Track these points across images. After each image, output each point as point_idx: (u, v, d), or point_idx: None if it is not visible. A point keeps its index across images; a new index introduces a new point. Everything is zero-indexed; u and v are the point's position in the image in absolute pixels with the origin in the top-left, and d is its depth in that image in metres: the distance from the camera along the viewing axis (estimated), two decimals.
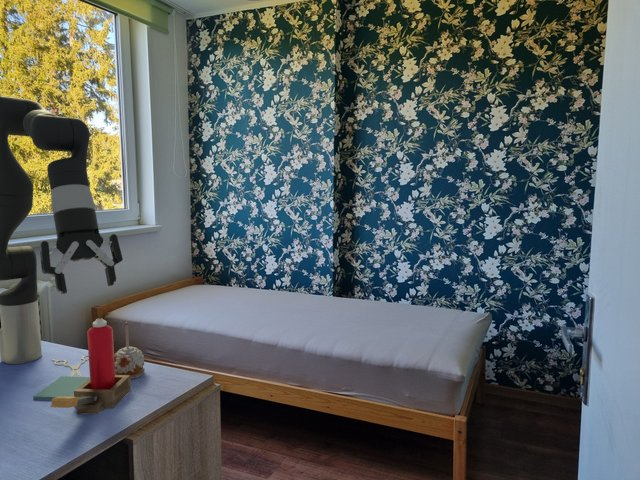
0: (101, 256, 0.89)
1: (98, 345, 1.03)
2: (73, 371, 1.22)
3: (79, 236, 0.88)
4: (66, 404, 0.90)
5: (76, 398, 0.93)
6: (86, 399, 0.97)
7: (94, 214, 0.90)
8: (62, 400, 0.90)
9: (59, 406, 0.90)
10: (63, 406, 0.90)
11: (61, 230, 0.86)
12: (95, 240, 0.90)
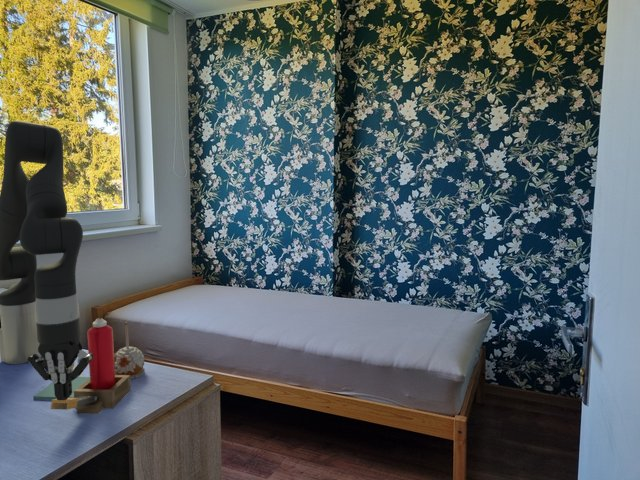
0: (59, 371, 0.89)
1: (98, 345, 1.03)
2: None
3: (55, 345, 0.89)
4: (66, 405, 0.90)
5: (76, 399, 0.93)
6: (86, 400, 0.97)
7: (67, 328, 0.87)
8: (62, 402, 0.90)
9: (59, 408, 0.90)
10: (63, 408, 0.90)
11: (37, 340, 0.88)
12: (69, 351, 0.89)
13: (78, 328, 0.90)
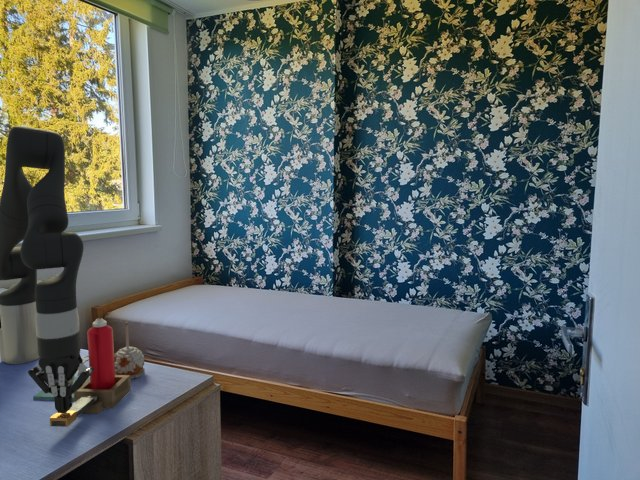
0: (59, 384, 0.89)
1: (98, 345, 1.03)
2: None
3: (56, 359, 0.89)
4: (65, 423, 0.90)
5: (74, 413, 0.92)
6: (85, 406, 0.97)
7: (67, 342, 0.87)
8: (60, 420, 0.90)
9: (58, 425, 0.90)
10: (62, 425, 0.90)
11: None
12: (69, 365, 0.89)
13: (78, 342, 0.90)
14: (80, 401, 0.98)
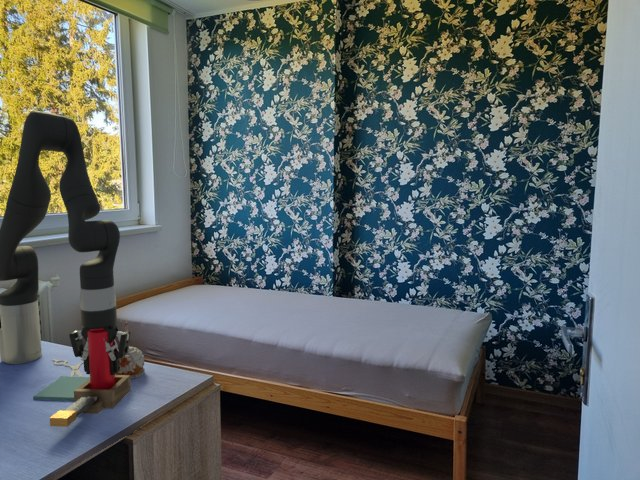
0: (106, 351, 1.04)
1: (98, 345, 1.03)
2: (73, 371, 1.22)
3: None
4: (65, 423, 0.90)
5: (74, 413, 0.92)
6: (85, 406, 0.97)
7: (107, 314, 1.02)
8: (60, 420, 0.90)
9: (58, 425, 0.90)
10: (62, 425, 0.90)
11: None
12: (108, 334, 1.04)
13: (115, 315, 1.05)
14: (80, 401, 0.98)
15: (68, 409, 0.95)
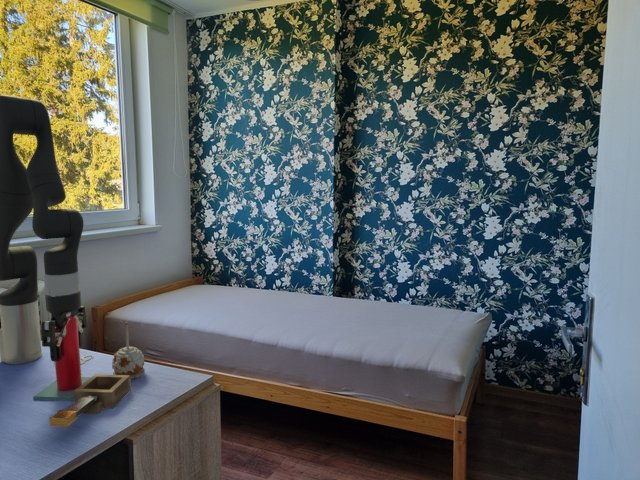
0: (79, 326, 1.13)
1: (77, 330, 1.10)
2: None
3: None
4: (65, 423, 0.90)
5: (74, 413, 0.92)
6: (85, 406, 0.97)
7: None
8: (60, 420, 0.90)
9: (58, 425, 0.90)
10: (62, 425, 0.90)
11: (63, 311, 1.05)
12: (75, 314, 1.12)
13: None
14: (80, 401, 0.98)
15: (68, 409, 0.95)
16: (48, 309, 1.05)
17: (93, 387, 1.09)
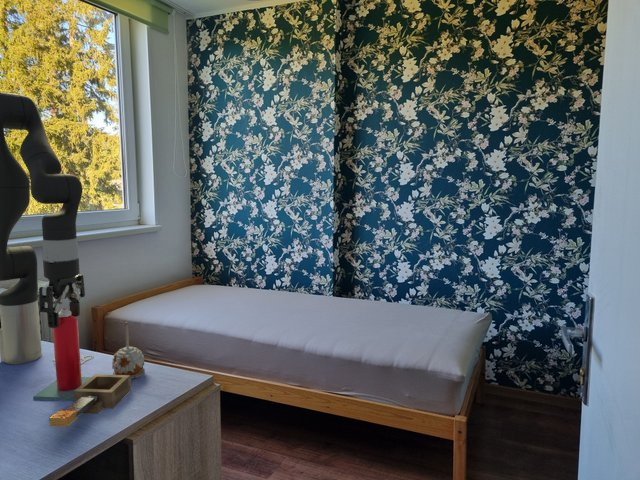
0: (77, 295, 1.11)
1: (77, 329, 1.11)
2: None
3: (66, 279, 1.08)
4: (65, 423, 0.90)
5: (74, 413, 0.92)
6: (85, 406, 0.97)
7: None
8: (60, 420, 0.90)
9: (58, 425, 0.90)
10: (62, 425, 0.90)
11: (61, 277, 1.04)
12: (73, 281, 1.10)
13: None
14: (80, 401, 0.98)
15: (68, 409, 0.95)
16: (46, 275, 1.04)
17: (93, 387, 1.09)
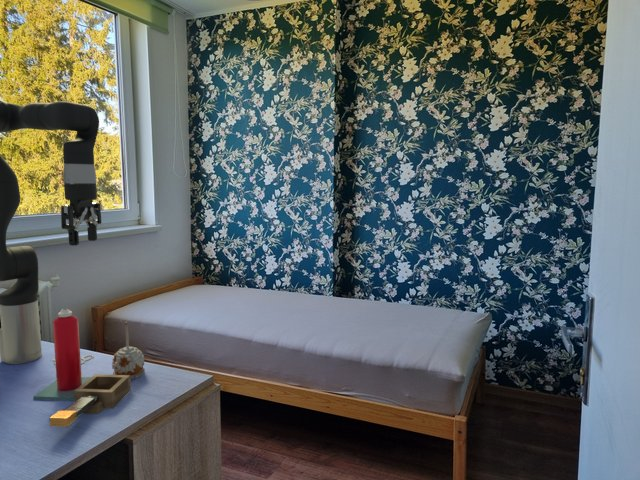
0: (95, 219, 1.21)
1: (78, 330, 1.10)
2: None
3: (85, 203, 1.17)
4: (65, 423, 0.90)
5: (74, 413, 0.92)
6: (85, 406, 0.97)
7: None
8: (60, 420, 0.90)
9: (58, 425, 0.90)
10: (62, 425, 0.90)
11: (81, 198, 1.13)
12: (91, 206, 1.20)
13: None
14: (80, 401, 0.98)
15: (68, 409, 0.95)
16: (67, 196, 1.13)
17: (93, 387, 1.09)
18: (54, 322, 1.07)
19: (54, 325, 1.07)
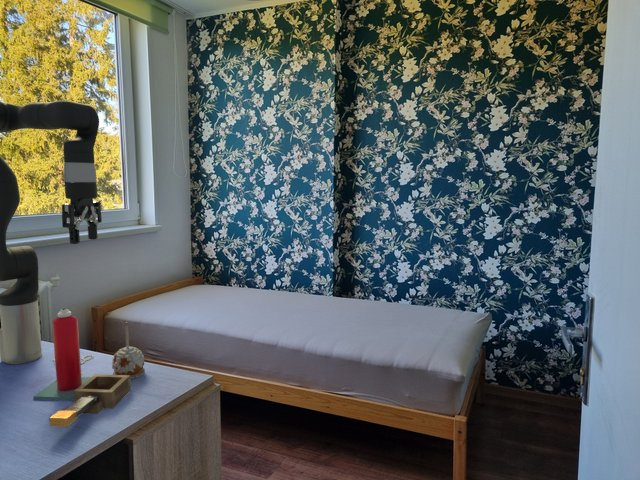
0: (95, 218, 1.21)
1: (77, 330, 1.10)
2: None
3: (85, 201, 1.17)
4: (65, 423, 0.90)
5: (74, 413, 0.92)
6: (85, 406, 0.97)
7: None
8: (60, 420, 0.90)
9: (58, 425, 0.90)
10: (62, 425, 0.90)
11: (81, 197, 1.14)
12: (91, 205, 1.20)
13: None
14: (80, 401, 0.98)
15: (68, 409, 0.95)
16: (67, 195, 1.14)
17: (93, 387, 1.09)
18: (53, 322, 1.07)
19: (53, 325, 1.07)
